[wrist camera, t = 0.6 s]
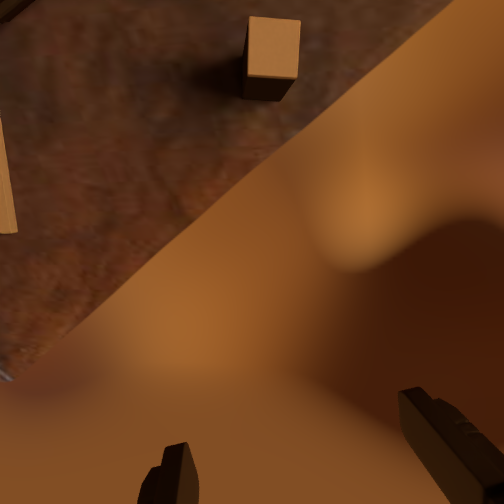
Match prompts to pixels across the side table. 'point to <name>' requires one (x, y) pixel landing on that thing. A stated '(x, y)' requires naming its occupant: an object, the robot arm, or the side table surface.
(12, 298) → the side table surface
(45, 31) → the side table surface
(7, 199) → the base pad
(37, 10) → the side table surface
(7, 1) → the barrel
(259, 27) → the tan rectangular block
